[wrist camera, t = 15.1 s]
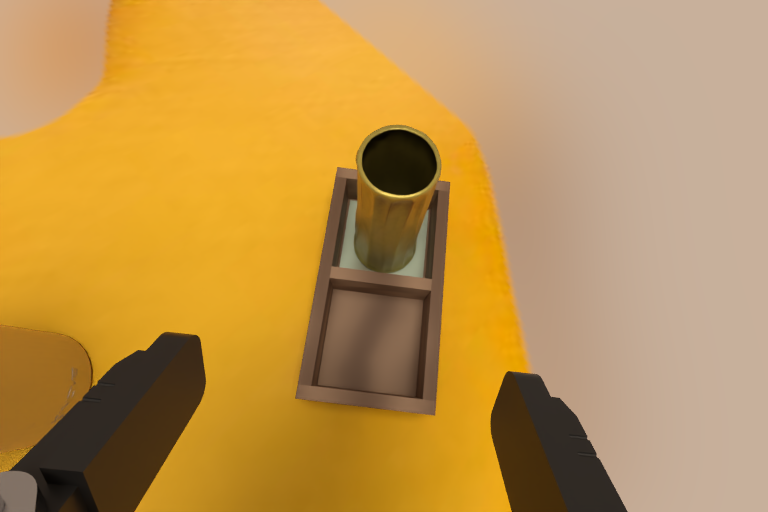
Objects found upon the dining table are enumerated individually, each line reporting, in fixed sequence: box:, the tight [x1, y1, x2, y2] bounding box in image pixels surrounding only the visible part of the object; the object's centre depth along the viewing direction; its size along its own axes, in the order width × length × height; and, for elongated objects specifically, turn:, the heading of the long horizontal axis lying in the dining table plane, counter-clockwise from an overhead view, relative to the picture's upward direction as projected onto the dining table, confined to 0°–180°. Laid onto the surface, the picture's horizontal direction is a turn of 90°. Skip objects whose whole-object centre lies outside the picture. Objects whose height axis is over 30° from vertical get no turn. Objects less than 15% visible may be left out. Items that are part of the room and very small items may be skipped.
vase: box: [354, 125, 441, 273], centre depth 29 cm, size 6×6×14 cm
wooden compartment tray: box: [296, 167, 450, 415], centre depth 33 cm, size 10×20×5 cm, turn 173°
